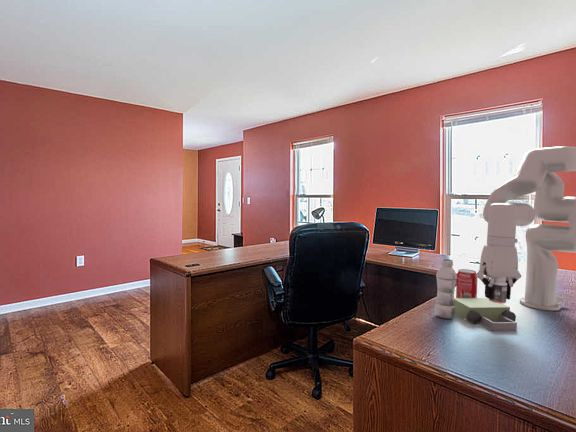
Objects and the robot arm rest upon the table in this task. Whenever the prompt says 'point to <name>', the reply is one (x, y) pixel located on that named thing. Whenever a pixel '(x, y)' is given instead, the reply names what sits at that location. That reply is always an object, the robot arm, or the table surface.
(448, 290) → the metal bottle
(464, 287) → the soda can
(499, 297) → the pill bottle
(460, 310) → the cart
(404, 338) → the table surface
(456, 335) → the table surface
